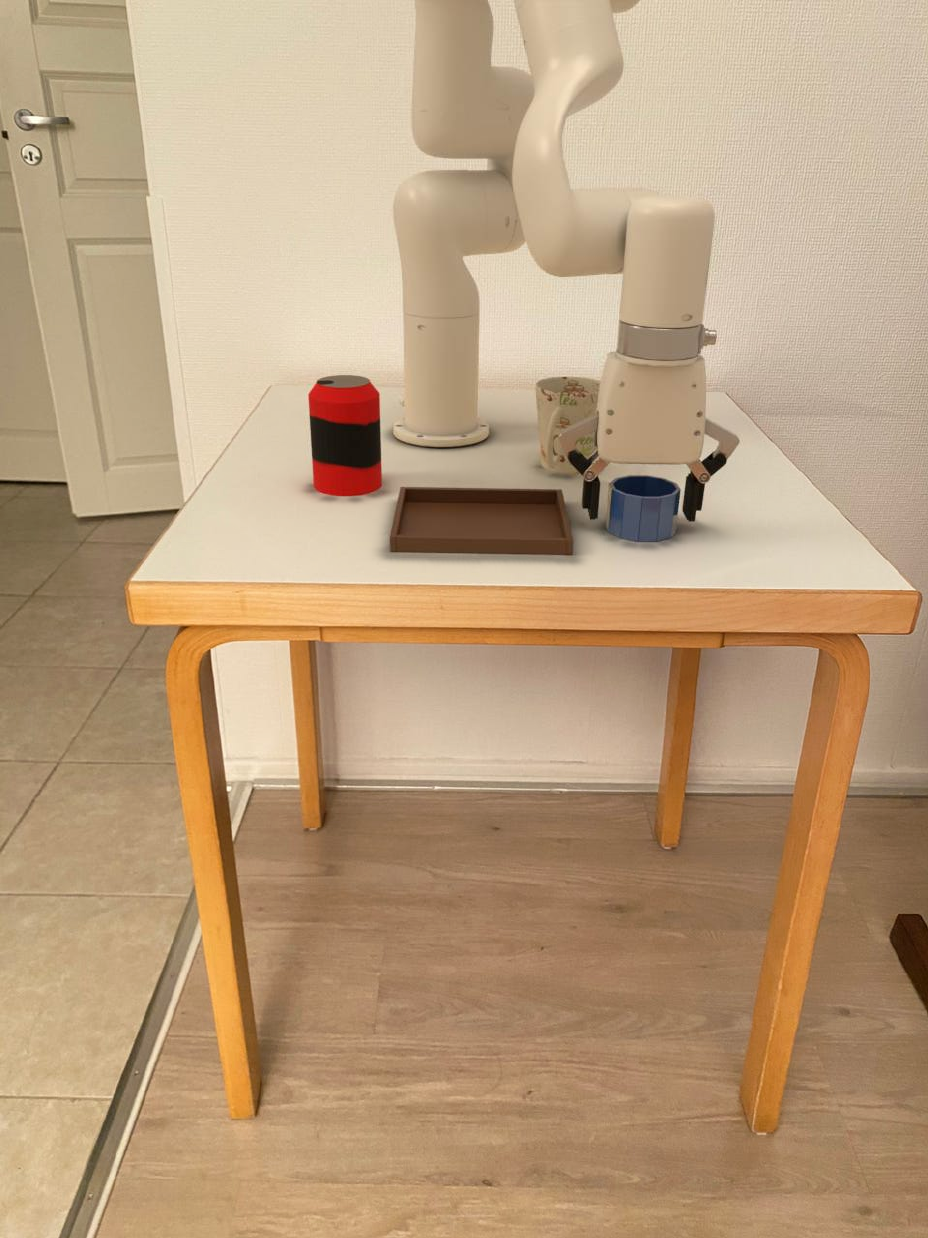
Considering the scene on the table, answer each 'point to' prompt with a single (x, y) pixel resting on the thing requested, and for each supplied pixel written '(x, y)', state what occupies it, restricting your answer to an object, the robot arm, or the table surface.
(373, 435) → the soda can
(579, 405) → the mug
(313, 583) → the table surface
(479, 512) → the tray
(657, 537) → the bowl
